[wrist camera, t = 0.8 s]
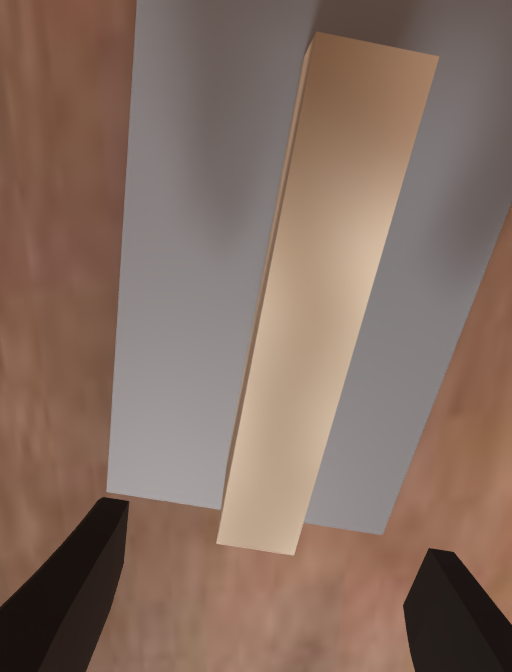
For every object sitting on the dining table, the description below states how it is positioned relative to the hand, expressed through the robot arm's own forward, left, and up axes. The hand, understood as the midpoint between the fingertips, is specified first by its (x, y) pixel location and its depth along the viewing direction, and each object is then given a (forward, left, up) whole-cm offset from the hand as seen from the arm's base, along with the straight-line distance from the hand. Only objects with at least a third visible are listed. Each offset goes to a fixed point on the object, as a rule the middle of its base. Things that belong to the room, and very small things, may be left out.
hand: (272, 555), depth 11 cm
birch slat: (0, -4, -7) cm, 8 cm away
